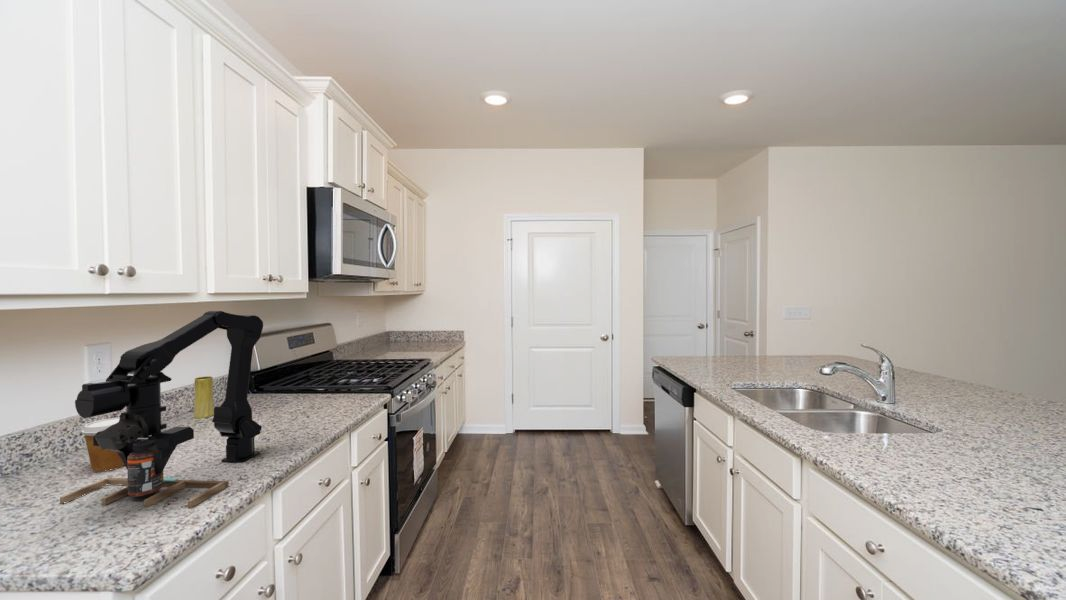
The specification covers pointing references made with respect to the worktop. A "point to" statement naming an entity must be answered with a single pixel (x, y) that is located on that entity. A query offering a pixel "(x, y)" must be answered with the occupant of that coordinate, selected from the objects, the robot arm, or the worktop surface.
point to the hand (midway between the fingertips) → (145, 473)
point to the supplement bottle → (142, 470)
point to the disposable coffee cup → (99, 457)
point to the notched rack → (167, 482)
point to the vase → (203, 397)
